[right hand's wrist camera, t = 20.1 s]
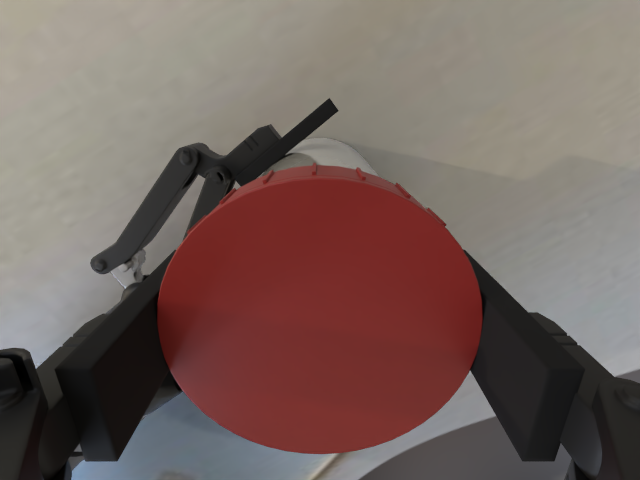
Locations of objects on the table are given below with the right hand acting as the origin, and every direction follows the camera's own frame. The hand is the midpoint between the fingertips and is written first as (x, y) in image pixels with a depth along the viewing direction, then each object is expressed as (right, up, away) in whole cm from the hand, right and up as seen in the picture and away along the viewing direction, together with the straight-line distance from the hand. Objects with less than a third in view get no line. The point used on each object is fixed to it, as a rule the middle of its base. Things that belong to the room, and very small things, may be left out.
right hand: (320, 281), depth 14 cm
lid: (0, -1, -3) cm, 3 cm away
